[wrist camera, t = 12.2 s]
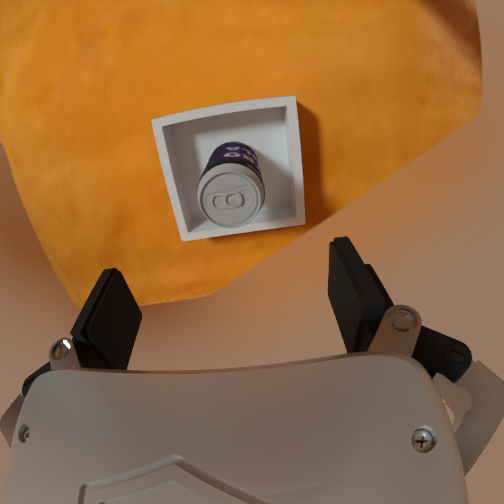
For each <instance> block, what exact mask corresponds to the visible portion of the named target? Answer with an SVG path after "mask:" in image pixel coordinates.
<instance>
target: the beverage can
mask: <svg viewBox="0 0 504 504" xmlns="http://www.w3.org/2000/svg"><path fill="white" fill-rule="evenodd" d="M196 197H197V202H198V205H199V207H200V209H201V211H202V213H203V214H204V216H205V217H206V218H207V219H208V220H209V221H210V222H212V223H213V224H215V225H217V226H219V227H223V228H238V227H241V226H244V225H246V224H247V223H249V222H250V221H251V220H253V219H254V218H255V216H256V215H257V214H258V212H259V211H260V210H261V208H262V206H263V203H264V200H265V188H264V184H263V180H262V175H261V171H260V167H259V163H258V159H257V156H256V154H255V152H254V151H253V150H252V149H251V148H250V147H249V146H247V145H246V144H244V143H241V142H227V143H224V144H222V145H220V146H218V147H217V148H216V149H215V150H214V151H213V153H212V155H211V157H210V159H209V161H208V163H207V165H206V167H205V169H204V171H203V174H202V176H201V178H200V180H199V182H198V185H197V190H196Z"/></svg>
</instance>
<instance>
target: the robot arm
mask: <svg viewBox="0 0 504 504" xmlns="http://www.w3.org/2000/svg"><path fill="white" fill-rule="evenodd" d="M328 296H329V300H330V303H331V305H332V308H333V311H334V314H335V317H336V320H337V323H338V326H339V329H340V332H341V335H342V338H343V341H344V344H345V347H346V350H347V354H340V355H333V356H327V357H320V358H314V359H307V360H300V361H293V362H285V363H277V364H269V365H260V366H249V367H238V368H225V369H208V370H184V371H183V370H181V371H138V370H136V371H135V370H127V367H128V363H129V359H130V356H131V353H132V349H133V346H134V342H135V339H136V335H137V333H138V329H139V326H140V323H141V320H142V313H141V310H140V309H139V307H138V305H137V303H136V301H135V299H134V297H133V295H132V293H131V291H130V289H129V287H128V285H127V283H126V281H125V279H124V277H123V275H122V273H121V272H120V271H118V270H117V269H116V268H111V269H105V270H104V271H103V272H102V274H101V276H100V277H99V279H98V281H97V282H96V284H95V286H94V288H93V290H92V291H91V293H90V295H89V297H88V299H87V301H86V302H85V304H84V306H83V308H82V310H81V312H80V314H79V316H78V318H77V320H76V322H75V324H74V326H73V328H72V330H71V332H70V334H71V335H72V336H73V338H72V340H71V339H70V338H61V339H59V340H58V341H56V342H55V343H54V344H53V345H52V347H51V349H50V351H49V360H50V361H49V362H48V363H46V364H45V365H44V366H42V367H41V368H40V369H38V370H37V371H36V372H34V373H33V374H32V375H30V376H29V377H28V378H27V379H25V381H24V384H23V387H22V394H23V395H21V394H19V395H18V397H17V398H16V399H15V400H14V402H13V403H12V404H11V405H10V407H9V408H8V409H7V410H6V412H5V413H4V415H3V416H2V418H1V420H0V429H1V431H2V433H3V435H4V437H5V439H6V441H7V443H8V445H9V447H10V453H9V458H8V465H7V471H6V479H5V491H4V504H469V502H468V495H467V488H466V481H465V476H466V474H467V473H468V472H469V470H470V469H471V468H472V466H473V465H474V464H475V462H476V461H477V459H478V458H479V456H480V455H481V453H482V452H483V450H484V449H485V447H486V446H487V444H488V442H489V441H490V439H491V438H492V436H493V434H494V433H495V431H496V429H497V427H498V426H499V424H500V422H501V420H502V418H503V416H504V381H503V380H502V379H501V378H499V377H498V376H497V375H496V374H495V373H493V372H492V371H491V370H490V369H488V368H487V367H486V366H484V365H483V364H482V363H481V362H480V361H477V362H474V361H473V360H472V355H471V351H470V349H469V348H468V347H467V345H465V344H464V343H462V342H461V341H459V340H456V339H453V338H451V337H449V336H446V335H444V334H441V333H439V332H437V331H434V330H432V329H429V328H427V327H424V326H422V325H421V322H422V320H421V317H420V315H419V314H418V312H417V311H416V310H414V309H413V308H411V307H409V306H405V305H395V306H394V304H393V302H392V300H391V299H390V297H389V295H388V293H387V292H386V290H385V288H384V286H383V285H382V283H381V282H380V279H379V278H378V276H377V274H376V273H375V271H374V269H373V268H372V266H371V265H370V264H364V262H363V261H362V259H361V257H360V256H359V254H358V252H357V251H356V249H355V247H354V246H353V244H352V242H351V241H350V239H349V238H348V237H347V236H346V237H338V238H334V241H333V242H330V248H329V276H328ZM441 397H442V398H443V399H444V400H445V401H446V403H445V404H446V405H447V406H448V407H449V408H450V409H451V410H452V411H453V413H454V423H453V425H451V422H450V420H449V416H448V414H447V411H446V409H445V406H444V403H443V401H442V398H441ZM414 432H415V433H414Z"/></svg>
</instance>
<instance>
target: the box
mask: <svg viewBox="0 0 504 504" xmlns="http://www.w3.org/2000/svg"><path fill="white" fill-rule="evenodd" d="M151 122H152V126H153V131H154V135H155V140H156V144H157V149H158V153H159V157H160V161H161V165H162V169H163V173H164V177H165V181H166V185H167V189H168V193H169V196H170V200H171V204H172V207H173V211H174V215H175V218H176V222H177V225H178V229H179V232H180V235H181V239H182V241H189V240H196V239H202V238H209V237H216V236H223V235H230V234H237V233H245V232H252V231H259V230H267V229H274V228H282V227H289V226H297V225H305V204H304V186H303V171H302V158H301V146H300V134H299V124H298V114H297V105H296V96H280V97H269V98H259V99H251V100H243V101H236V102H230V103H223V104H218V105H212V106H207V107H201V108H196V109H192V110H187V111H183V112H178V113H174V114H170V115H166V116H162V117H159V118H156V119H153V120H151ZM227 142H241V143H244V144H246V145H247V146H249V147H250V148H251V149H252V150H253V151H254V152H255V154H256V156H257V159H258V163H259V167H260V171H261V175H262V180H263V184H264V188H265V200H264V203H263V206H262V208H261V210H260V211H259V212H258V214H257V215H256V216H255V218H254V219H253V220H251V221H250V222H249V223H247V224H246V225H244V226H241V227H238V228H223V227H219V226H217V225H215V224H213V223H212V222H210V221H209V220H208V219H207V218H206V217H205V216H204V214H203V213H202V211H201V209H200V207H199V205H198V202H197V197H196V190H197V185H198V182H199V180H200V178H201V176H202V174H203V171H204V169H205V167H206V165H207V163H208V161H209V159H210V157H211V155H212V153H213V151H214V150H215V149H216V148H217V147H218V146H220V145H222V144H224V143H227Z"/></svg>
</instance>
